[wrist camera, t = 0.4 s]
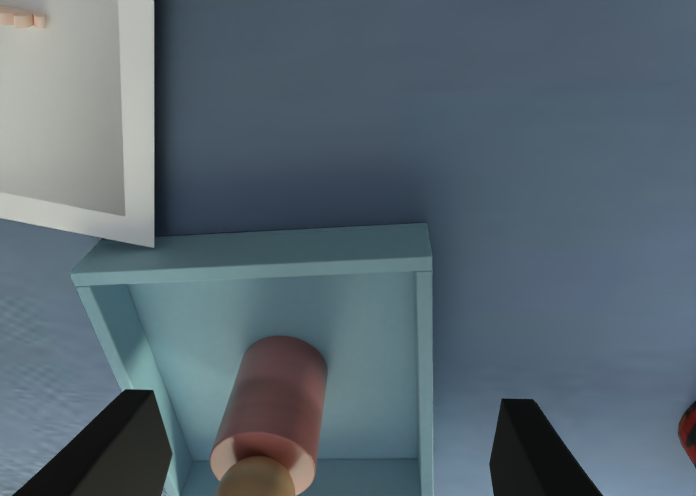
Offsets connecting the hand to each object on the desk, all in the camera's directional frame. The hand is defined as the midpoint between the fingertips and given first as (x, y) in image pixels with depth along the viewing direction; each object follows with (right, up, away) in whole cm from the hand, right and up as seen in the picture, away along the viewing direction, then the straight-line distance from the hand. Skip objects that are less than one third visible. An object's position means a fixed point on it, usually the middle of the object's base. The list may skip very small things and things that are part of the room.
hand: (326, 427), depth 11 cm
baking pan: (-2, -2, +13) cm, 13 cm away
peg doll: (-2, -2, +13) cm, 13 cm away
